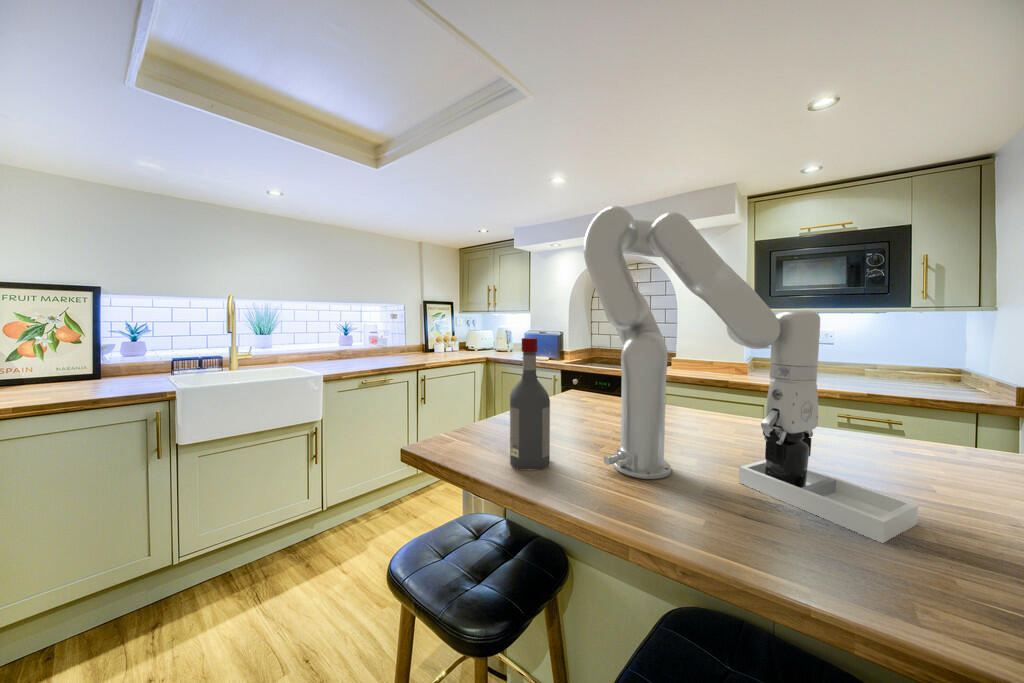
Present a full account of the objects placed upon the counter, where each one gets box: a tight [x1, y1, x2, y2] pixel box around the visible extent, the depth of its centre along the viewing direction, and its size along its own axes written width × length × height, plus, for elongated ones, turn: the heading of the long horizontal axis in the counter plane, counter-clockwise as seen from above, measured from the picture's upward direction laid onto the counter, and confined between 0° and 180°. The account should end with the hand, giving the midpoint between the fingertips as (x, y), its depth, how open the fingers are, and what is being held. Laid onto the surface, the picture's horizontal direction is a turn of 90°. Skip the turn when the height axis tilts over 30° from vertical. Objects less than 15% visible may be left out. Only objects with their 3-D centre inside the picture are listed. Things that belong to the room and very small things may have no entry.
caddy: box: [738, 459, 919, 544], centre depth 71 cm, size 12×23×4 cm, turn 25°
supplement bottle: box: [765, 425, 810, 488], centre depth 75 cm, size 7×7×12 cm
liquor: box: [509, 337, 551, 470], centre depth 88 cm, size 9×9×30 cm
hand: (787, 457), depth 75 cm, fingers open, 8 cm apart
